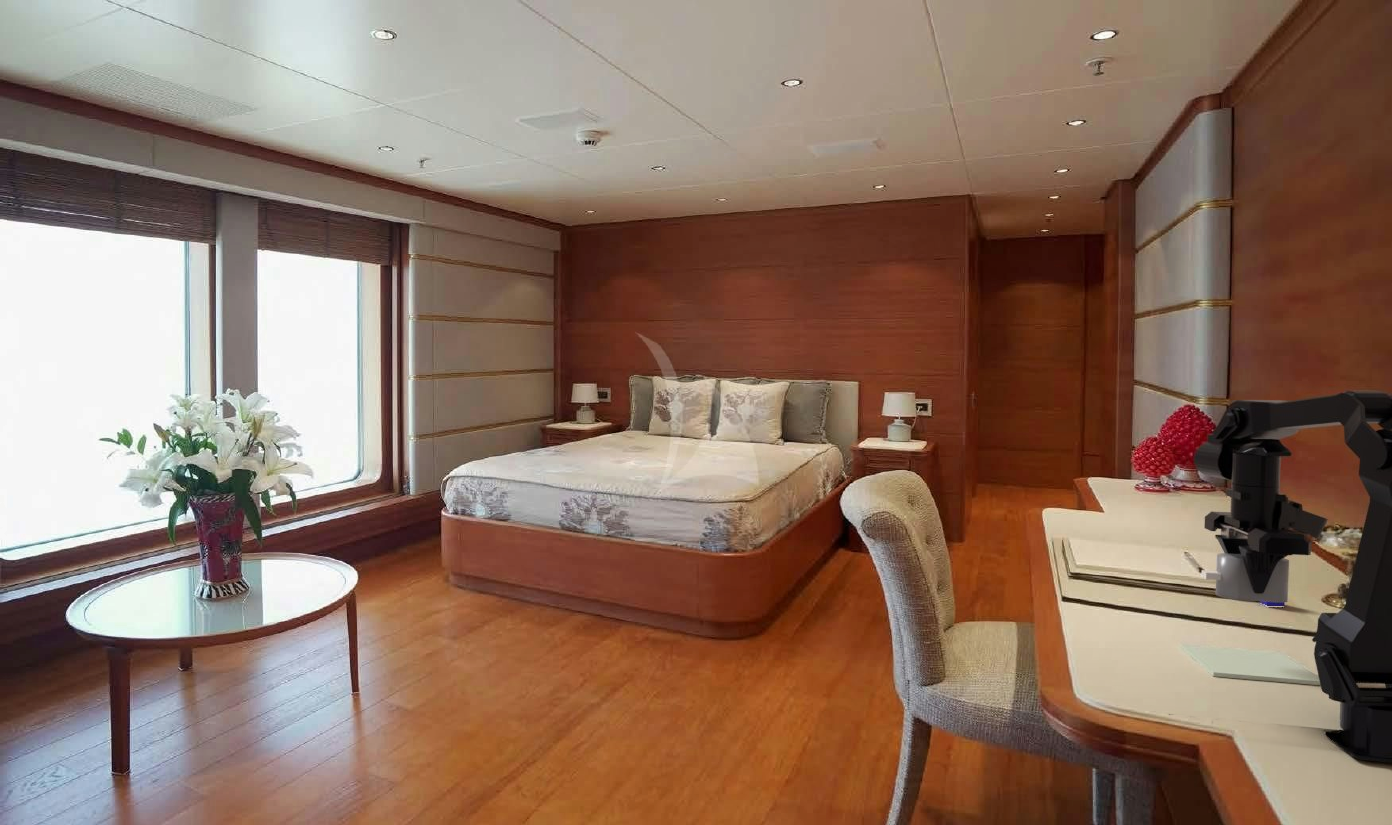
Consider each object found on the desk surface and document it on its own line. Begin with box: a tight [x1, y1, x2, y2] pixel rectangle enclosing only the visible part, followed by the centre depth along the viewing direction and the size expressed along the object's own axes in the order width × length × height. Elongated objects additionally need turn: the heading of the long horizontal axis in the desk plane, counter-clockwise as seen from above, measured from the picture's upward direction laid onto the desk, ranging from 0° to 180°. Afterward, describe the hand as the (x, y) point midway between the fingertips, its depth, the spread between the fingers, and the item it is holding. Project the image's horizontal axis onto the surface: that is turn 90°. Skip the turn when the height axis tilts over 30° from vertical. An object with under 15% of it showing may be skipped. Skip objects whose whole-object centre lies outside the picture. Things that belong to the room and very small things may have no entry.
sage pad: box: [1179, 643, 1321, 686], centre depth 112 cm, size 12×14×1 cm
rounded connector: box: [1201, 552, 1290, 604], centre depth 112 cm, size 4×11×6 cm, turn 77°
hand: (1251, 589), depth 112 cm, fingers closed on rounded connector, 4 cm apart
